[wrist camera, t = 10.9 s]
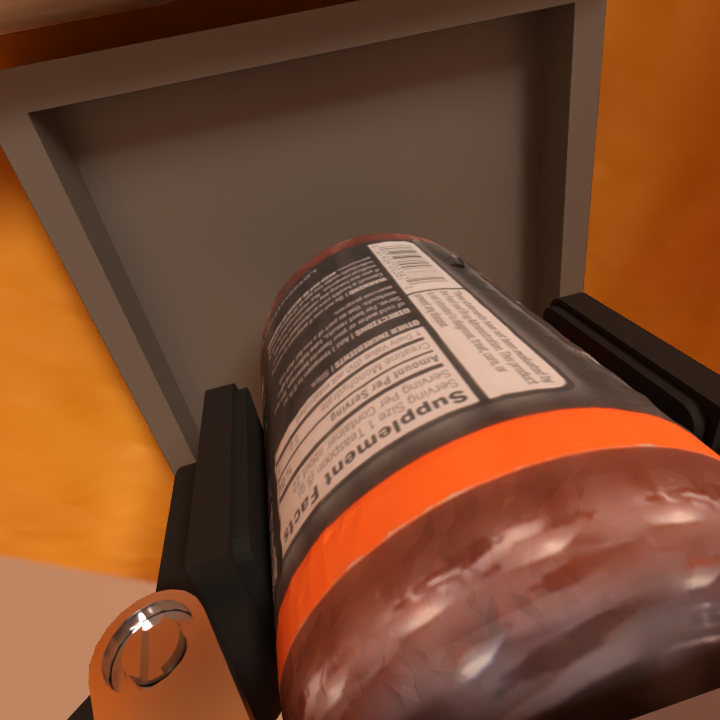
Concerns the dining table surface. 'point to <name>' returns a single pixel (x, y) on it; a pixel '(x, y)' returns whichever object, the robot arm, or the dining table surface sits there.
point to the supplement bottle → (473, 506)
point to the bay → (62, 11)
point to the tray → (302, 169)
